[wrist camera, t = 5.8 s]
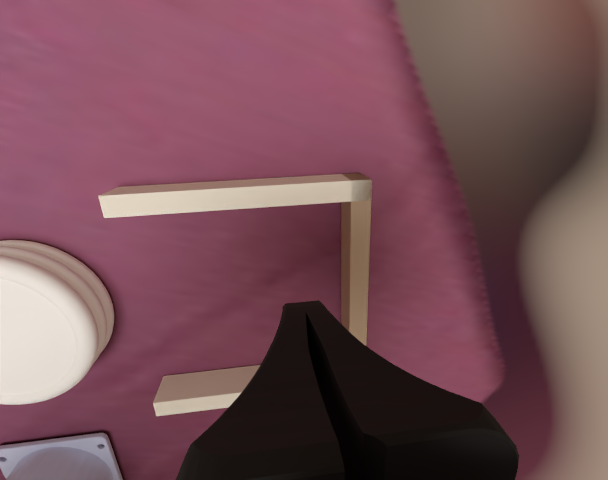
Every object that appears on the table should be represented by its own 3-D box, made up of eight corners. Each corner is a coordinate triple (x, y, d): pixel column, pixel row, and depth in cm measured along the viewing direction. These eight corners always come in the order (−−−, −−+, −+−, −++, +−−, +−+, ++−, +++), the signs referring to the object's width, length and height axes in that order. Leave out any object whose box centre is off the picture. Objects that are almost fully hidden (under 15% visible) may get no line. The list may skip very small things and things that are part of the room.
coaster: (77, 389, 24) (47, 431, 21) (-76, 327, 21) (-139, 365, 18) (144, 289, 22) (123, 318, 19) (-15, 205, 19) (-73, 223, 16)
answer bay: (355, 366, 26) (364, 390, 24) (166, 388, 25) (156, 416, 22) (359, 172, 21) (371, 179, 18) (118, 186, 19) (98, 196, 17)
